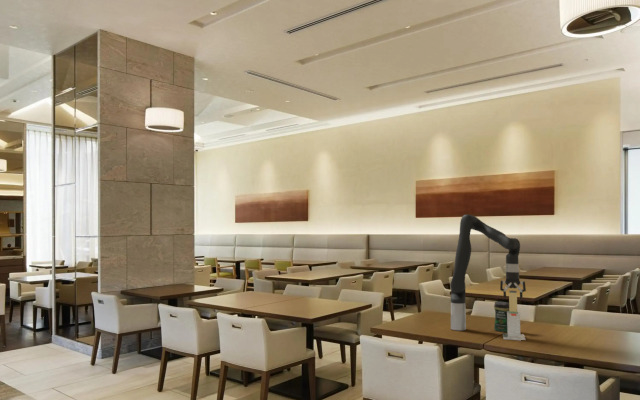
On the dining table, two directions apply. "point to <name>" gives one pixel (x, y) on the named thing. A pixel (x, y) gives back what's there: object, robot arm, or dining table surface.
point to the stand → (513, 327)
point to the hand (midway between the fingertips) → (513, 298)
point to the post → (513, 301)
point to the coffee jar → (501, 316)
